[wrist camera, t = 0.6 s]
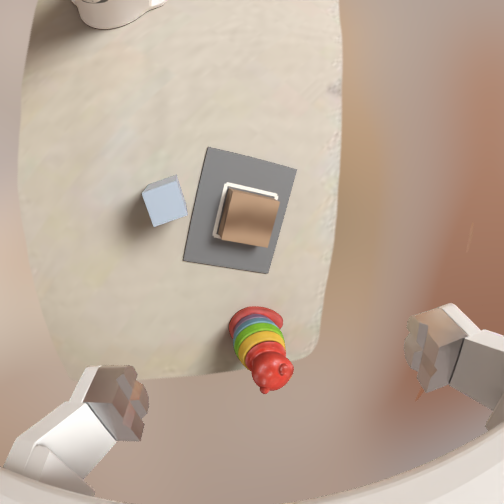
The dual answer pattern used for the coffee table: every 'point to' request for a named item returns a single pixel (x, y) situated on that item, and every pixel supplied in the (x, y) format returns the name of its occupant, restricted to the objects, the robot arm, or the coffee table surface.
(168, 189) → the pillar
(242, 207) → the base block
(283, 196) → the build mat
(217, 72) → the coffee table surface
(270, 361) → the stacking bear
